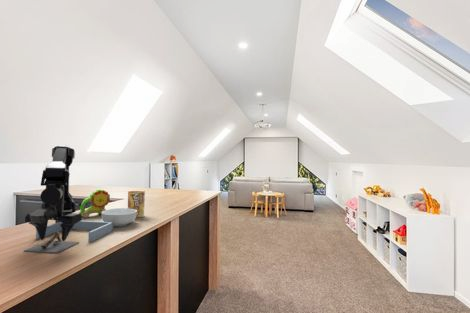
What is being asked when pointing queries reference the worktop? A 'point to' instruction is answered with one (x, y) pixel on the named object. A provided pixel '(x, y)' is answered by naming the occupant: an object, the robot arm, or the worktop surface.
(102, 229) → the open box
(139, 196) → the candy box
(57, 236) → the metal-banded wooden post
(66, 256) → the worktop surface
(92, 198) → the toy lion
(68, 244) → the mat
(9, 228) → the worktop surface
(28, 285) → the worktop surface
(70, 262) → the worktop surface
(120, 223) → the cereal bowl
